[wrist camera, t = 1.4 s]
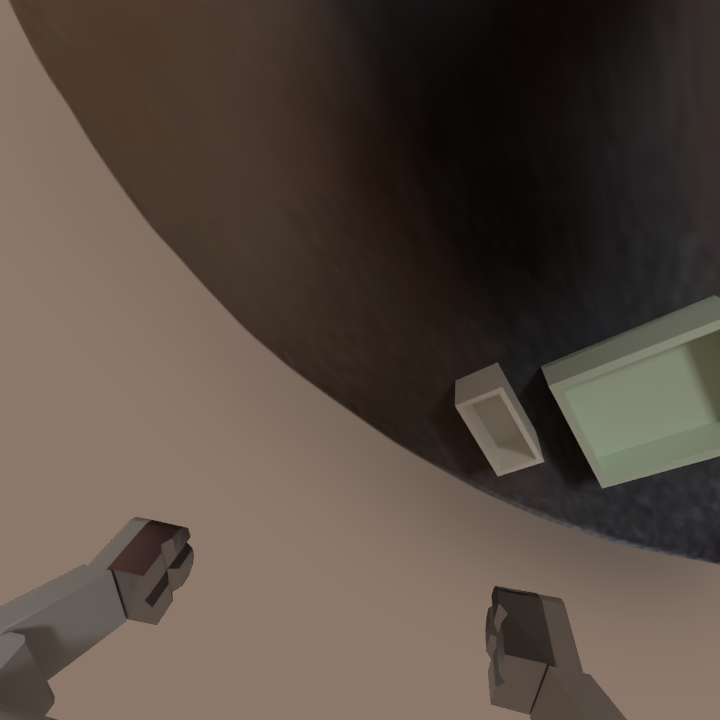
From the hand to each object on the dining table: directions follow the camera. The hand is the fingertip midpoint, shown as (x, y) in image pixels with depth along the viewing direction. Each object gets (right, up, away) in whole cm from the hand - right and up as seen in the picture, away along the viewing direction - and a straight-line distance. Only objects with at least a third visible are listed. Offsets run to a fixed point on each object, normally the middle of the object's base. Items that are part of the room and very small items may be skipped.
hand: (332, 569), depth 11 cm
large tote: (+28, +3, +28) cm, 40 cm away
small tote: (+15, +1, +32) cm, 36 cm away
